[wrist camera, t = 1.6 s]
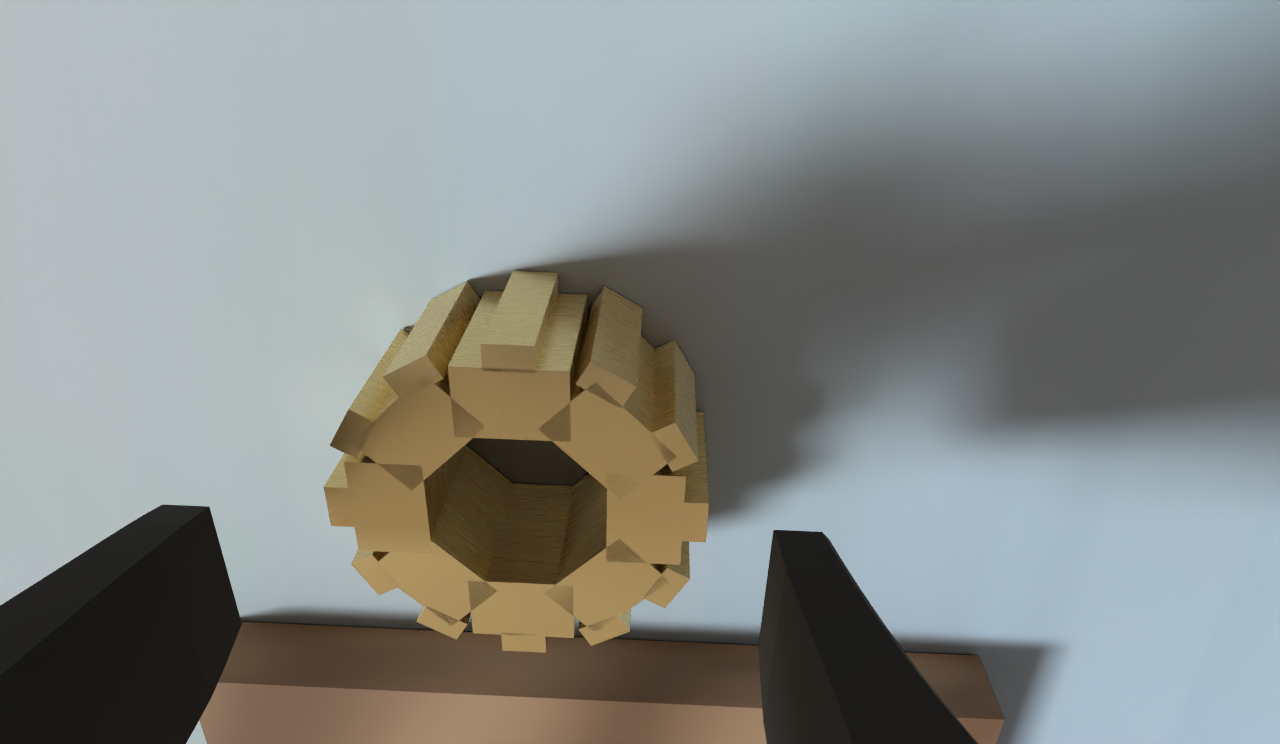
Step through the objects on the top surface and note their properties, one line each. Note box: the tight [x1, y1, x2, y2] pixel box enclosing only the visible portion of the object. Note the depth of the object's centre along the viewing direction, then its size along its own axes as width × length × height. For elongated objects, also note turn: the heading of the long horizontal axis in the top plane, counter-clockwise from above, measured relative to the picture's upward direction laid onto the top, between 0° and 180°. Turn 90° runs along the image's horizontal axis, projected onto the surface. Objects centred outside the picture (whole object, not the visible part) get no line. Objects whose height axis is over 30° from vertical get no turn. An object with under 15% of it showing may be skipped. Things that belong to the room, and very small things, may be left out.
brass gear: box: [324, 271, 709, 653], centre depth 13 cm, size 6×6×2 cm
